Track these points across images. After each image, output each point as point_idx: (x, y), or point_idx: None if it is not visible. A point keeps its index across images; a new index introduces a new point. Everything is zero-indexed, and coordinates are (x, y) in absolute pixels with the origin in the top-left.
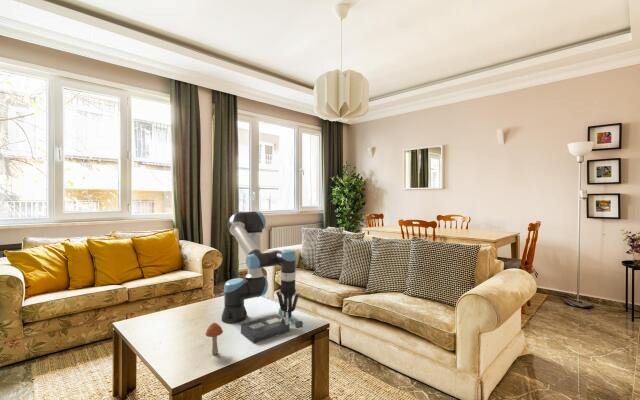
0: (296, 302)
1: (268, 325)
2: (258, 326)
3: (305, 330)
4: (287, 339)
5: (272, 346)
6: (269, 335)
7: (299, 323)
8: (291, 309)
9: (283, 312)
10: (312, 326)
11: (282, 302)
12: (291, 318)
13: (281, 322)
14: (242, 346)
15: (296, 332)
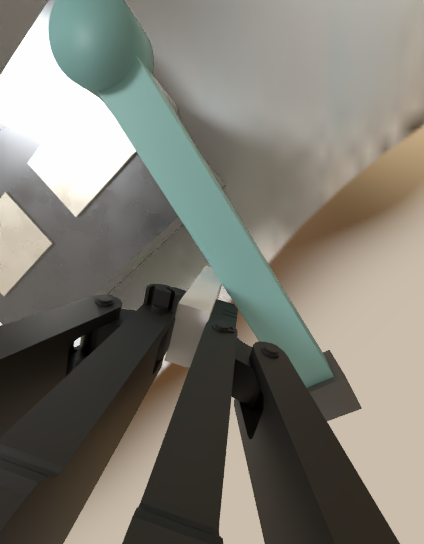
0: (350, 497)
1: (74, 241)
2: (19, 264)
3: (337, 158)
4: (226, 292)
5: (163, 362)
6: (119, 280)
7: (325, 413)
8: (236, 413)
9: (128, 137)
10: (400, 72)
11: (28, 382)
12: (239, 307)
13: (151, 180)
14: None
15: (272, 196)
